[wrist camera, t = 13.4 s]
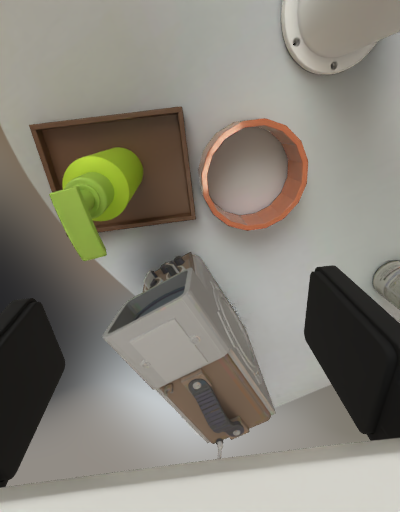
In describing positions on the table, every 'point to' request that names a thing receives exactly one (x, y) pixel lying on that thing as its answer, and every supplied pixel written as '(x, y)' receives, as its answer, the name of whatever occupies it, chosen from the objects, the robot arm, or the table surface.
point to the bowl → (290, 189)
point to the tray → (142, 145)
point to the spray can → (389, 282)
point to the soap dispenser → (96, 196)
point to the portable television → (193, 350)
